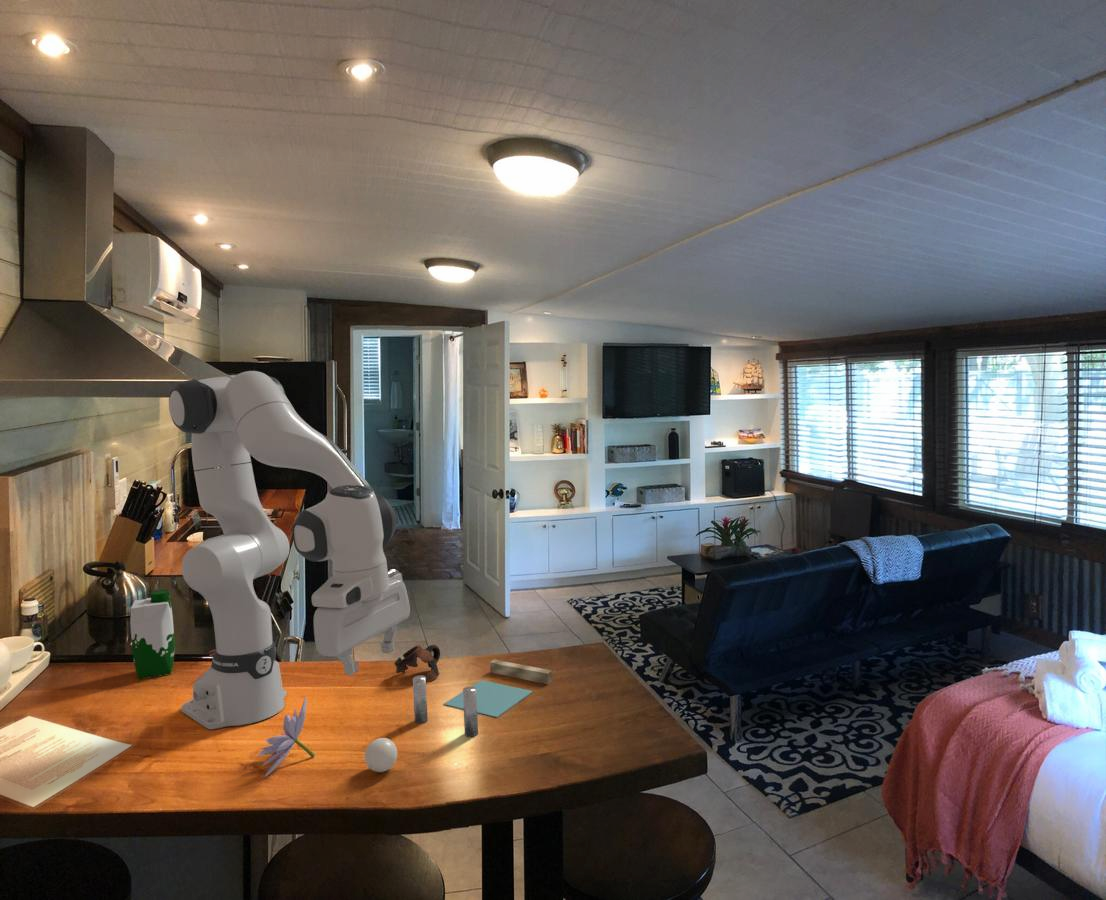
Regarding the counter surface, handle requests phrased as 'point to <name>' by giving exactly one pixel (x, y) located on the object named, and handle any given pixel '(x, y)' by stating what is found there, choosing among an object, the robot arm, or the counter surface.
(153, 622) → the milk carton
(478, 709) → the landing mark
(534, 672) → the stopper strip
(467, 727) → the post
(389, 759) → the ball
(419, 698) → the post
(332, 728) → the counter surface
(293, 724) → the water lily
